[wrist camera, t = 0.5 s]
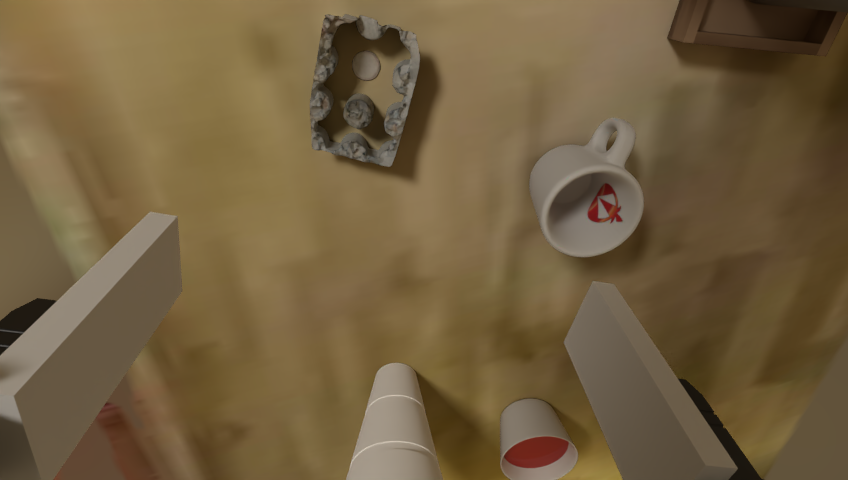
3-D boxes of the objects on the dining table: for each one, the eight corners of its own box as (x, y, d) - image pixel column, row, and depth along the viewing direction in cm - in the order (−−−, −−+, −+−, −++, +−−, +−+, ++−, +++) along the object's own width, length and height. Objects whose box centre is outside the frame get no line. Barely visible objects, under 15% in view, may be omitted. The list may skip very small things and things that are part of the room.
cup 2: (418, 417, 58) (424, 579, 43) (338, 395, 56) (313, 559, 40) (456, 359, 54) (478, 518, 38) (370, 332, 51) (355, 491, 35)
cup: (561, 88, 39) (596, 113, 32) (641, 121, 40) (690, 153, 33) (504, 198, 43) (523, 242, 37) (577, 224, 45) (608, 270, 38)
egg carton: (330, 3, 35) (322, 6, 31) (425, 32, 36) (428, 38, 33) (308, 136, 40) (299, 152, 36) (393, 158, 41) (392, 175, 38)
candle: (516, 382, 56) (528, 427, 50) (575, 403, 58) (594, 448, 53) (478, 427, 60) (486, 473, 54) (535, 445, 62) (548, 491, 57)
